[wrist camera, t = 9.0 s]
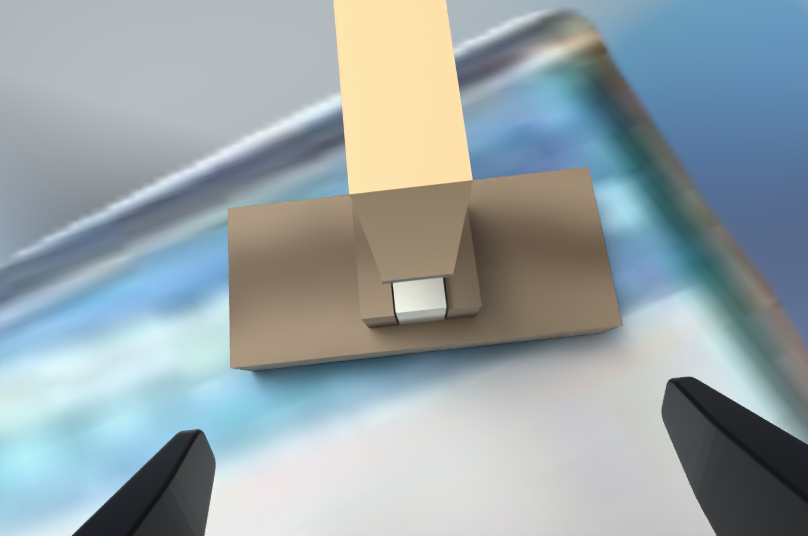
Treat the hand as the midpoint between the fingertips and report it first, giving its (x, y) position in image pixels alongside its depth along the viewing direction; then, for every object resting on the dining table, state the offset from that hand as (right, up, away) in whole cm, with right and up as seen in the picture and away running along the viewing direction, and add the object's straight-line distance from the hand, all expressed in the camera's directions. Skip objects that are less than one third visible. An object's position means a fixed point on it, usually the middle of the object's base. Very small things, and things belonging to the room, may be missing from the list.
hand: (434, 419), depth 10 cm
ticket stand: (0, +3, +14) cm, 14 cm away
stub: (0, +5, +4) cm, 6 cm away
